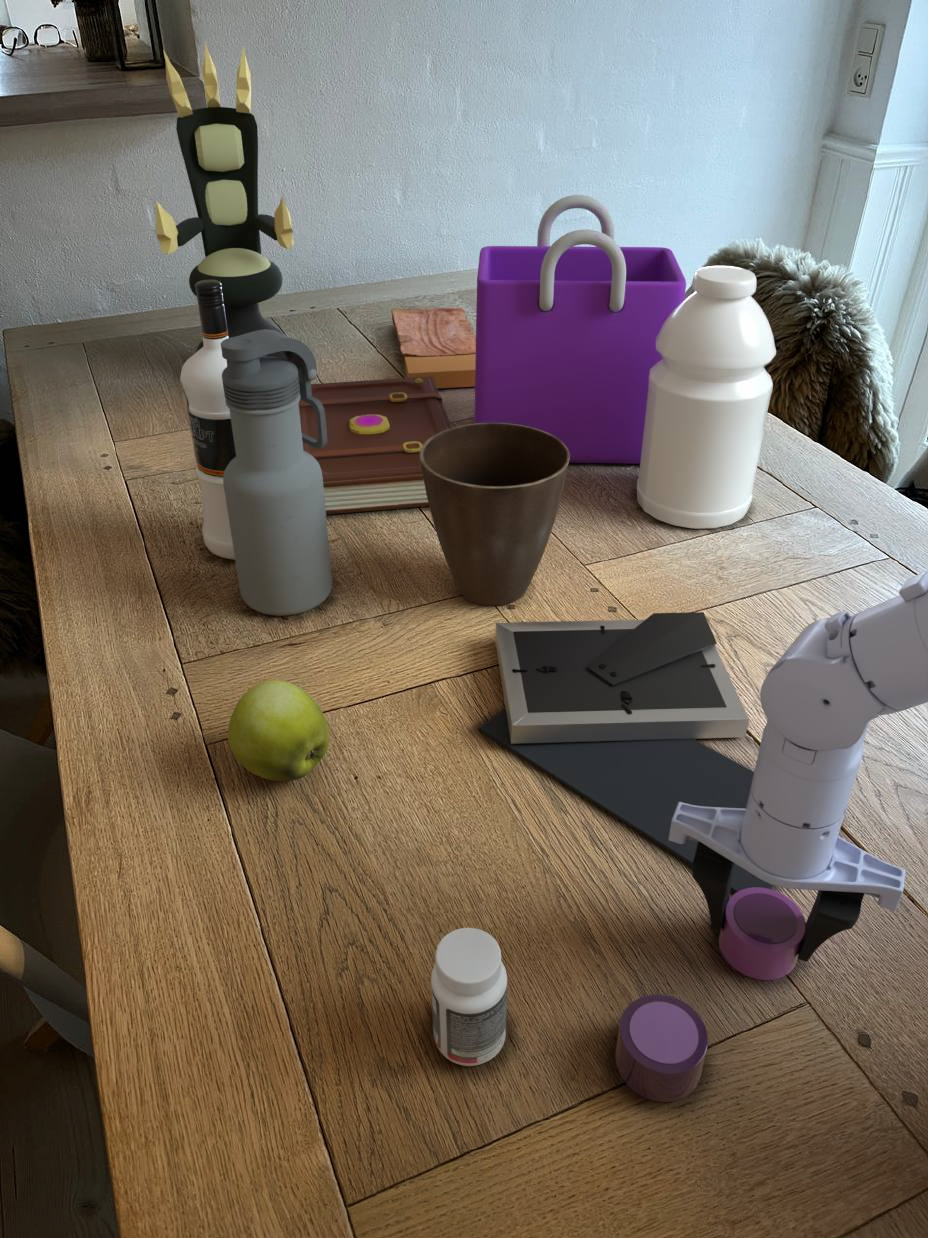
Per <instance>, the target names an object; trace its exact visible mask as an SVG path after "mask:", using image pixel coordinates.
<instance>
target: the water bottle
mask: <svg viewBox="0 0 928 1238" xmlns="http://www.w3.org/2000/svg"><path fill="white" fill-rule="evenodd" d="M282 333H283V332H282ZM282 333H279V332H277V331H274V330H268V329H264V330H258V331H253V332H250V333H246V334H243V335H239V336H236V337H231V338H228V339H225V340H223V341H222V342H221V350H222V356H223V358H224V359H226V360H227V367H226V368H225V369H224V370H223V372H222V381H223V388H224V395H225V399H226V400H225V402H226V406H227V407H228V408H229V410H230V417H231V424H232V431H233V438H234V445H235V451H236V457H235V458H234V459H233V460H231V462H230V463H229V464H228V466H227V467H226V469H225V471H224V475H223V485H224V491H225V498H226V504H227V511H228V517H229V523H230V530H231V536H232V542H233V549H234V555H235V560H234V561H235V562H234V563H235V569H236V574H237V580H238V587H239V593H240V596H241V598H242V600H243V602H244V603H245V604H246V605H247V606H248V607H249V608H250V609H252V610H254V611H256V612H258V613H261V614H263V615H270V616H279V617H280V616H281V617H282V616H293V615H299V614H302V613H305V612H308V611H311V610H313V609H314V608H316V607H319V606H320V605H321V604H323V602H325V601H326V600H327V599H328V597H329V595H330V593H331V592H332V588H333V575H332V565H331V553H330V543H329V533H328V522H327V521H328V519H327V514H326V509H325V499H324V488H323V477H322V471H321V468H320V465H319V463H318V462H317V460H316V459H315V458H314V457H313V456H312V455H310V454H309V453H307V452H306V451H303V442H305V443H307V444H309V445H311V446H313V447H315V448H317V449H320V448H322V447H325V446H326V445H327V429H326V418H325V410H324V407H323V405H322V403H321V402H320V401H319V400H318V399H317V398H315V397H312V390H311V384H312V381H314V380H316V378H317V377H318V368H317V362H316V358H315V356H314V354H313V352H312V350H311V349H310V348H309V346H308V345H307V344H305V343H304V342H302V341H301V340H298V339H296V338H294V337H292V336H289V335H287V334H285V333H284V334H285V335H284V334H282ZM280 351H283V352H284V354H285V356H286V360H285V359H282V358H279V357H273V356H264V355H267V354H271V353H275V352H280ZM300 400H302V401H304V402H307V403H309V404H310V405H311V406H312V407H313V408H314V410H315V412H316V416H317V424H318V440H316V439H314V438H312V437H310V436H308V435H306V434H304V433H302V432H301V423H300V413H299V404H298V403H299V401H300ZM302 441H303V442H302Z"/></svg>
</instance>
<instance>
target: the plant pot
mask: <svg viewBox="0 0 928 1238" xmlns="http://www.w3.org/2000/svg"><path fill="white" fill-rule="evenodd" d="M569 459H570V454H569V450H568V448H567V447H566V446H565V444H564V443H563V442H562V441H561V440H559V439H558V438H557V437H555V436H553V435H551V434H549V433H547V432H545V431H542V430H539V429H536V428H532V427H529V426H524V425H518V424H510V423H475V424H474V423H468V424H463V425H457V426H454V427H451V428H450V429H447V430H444V431H442V432H440V433H438V434H436V435H434V436H432V437H431V438H429V439H428V440H427V441H426V442H425V443H424V444H423V446H422V447H421V449H420V462H421V468H422V474H423V479H424V484H425V490H426V495H427V499H428V503H429V506H428V507H429V511H430V515H431V518H432V522H433V525H434V529H435V532H436V535H437V539H438V542H439V545H440V548H441V551H442V553H443V556H444V559H445V561H446V564H447V566H448V569H449V572H450V574H451V575H452V578H453V581H454V583H455V585H456V587H457V589H458V591H459V593H460V594H461V596H463V598H464V599H466V600H468V601H470V602H472V603H475V604H477V605H482V606H491V607H492V606H493V607H497V606H504V605H508V604H509V605H510V604H512V603H515V602H517V601H518V600H521V598H523V597H524V595H525V594H526V592H527V591H528V588H529V586H530V585H531V582H532V580H533V578H534V577H535V574H536V572H537V570H538V567H539V565H540V563H541V561H542V558H543V556H544V553H545V551H546V548H547V545H548V543H549V541H550V537H551V534H552V531H553V529H554V525H555V522H556V518H557V515H558V511H559V508H560V504H561V501H562V496H563V491H564V486H565V482H566V478H567V472H568V469H569V463H570V462H569Z"/></svg>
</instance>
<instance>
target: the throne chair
mask: <svg viewBox="0 0 928 1238" xmlns="http://www.w3.org/2000/svg"><path fill="white" fill-rule="evenodd" d="M162 51H163V55H164V60H165V77H166V78H165V80H166V82H167V87H168V89H169V92H170V96H171V98H172V102H173V104H174V107H175V109H176V112H177V114H178V117H177V118H176V126H175V129H176V135H177V139H178V143H179V148H180V151H181V154H182V159H183V162H184V167H185V170H186V173H187V177H188V181H189V186H190V189H191V193H192V198H193V202H194V205H195V209H196V214H197V216H196V217H188V218H186V219H184V220H181V222H179V223H178V224H176V223H175V220H174V217H173V216H172V215H171V214H170V213H169V212H168V211H167V210H166V209H165V208H163V207H162V205H161V204H160V203H159V202H158V201H157V200H155V221H156V223H155V224H156V225H155V226H156V238H157V241H158V243H159V245H160V248H161V252H162V255H163V256H169V255H171V254H173V253H174V252H177V250H178V248H180V247H182V246H185V245H186V244H187V243H188V242H190V241H192V239H194V238H195V237H196V236H198V235H199V234H200V233H201V234H200V235H201V240H202V246H203V251H204V258H203V259H202V260H201V261H200V262H199V263H198V264H197V265H195V267H194V268H193V269H192V270H191V271H190V274H189V278H188V284H189V288H190V291H191V292H192V293H193V296H195V297H196V298H197V294H196V288H195V284H196V283H197V282H199V281H202V280H217V281H219V282H221V284H222V286H221V287H222V293H223V300H224V303H223V304H224V308H225V315H226V322H227V329H228V337H229V338H231V337H236V336H239V335H243V334H246V333H250V332H253V331H258V330H264V329H268V330H274V331H277V332H279V333H282V334H284V335H286V334H285V333H284V332H282V331H281V330H280V329H279V328H277V327H276V326H275V325H273V324H271V323H270V322H269V321H268V320H267V319H265V318H264V316H263V315H262V313H261V311H260V306H259V304H260V303H263V302H265V301H268V300H270V299H271V298H273V297H274V296H276V295H277V294H278V293H279V292H280V290H281V288H282V286H283V274H282V271H281V269H280V268H279V266H278V265H277V264H276V263H275V262H274V261H271V260H270V259H268V258H266V257H265V256H264V255H263V254H262V243H261V233H263V234H264V235H266V236H267V237H269V238H270V239H272V240H273V241H277V243H278V244H279V246H280V247H282V248H284V249H286V250H291V249H293V247H294V231H293V228H292V219H291V213H290V210H289V209H288V207H287V204H286V202H285V199H284V196H283V195H282V196H281V198H280V201H279V204H278V206H277V207H276V209H275V211H274V212H273V215H274V216H272V215H269V214H265V213H263V214H262V213H260V214H259V134H258V132H259V131H258V123H257V120H256V118H255V115H254V114H253V113H251V112H252V111H251V108H252V107H251V106H252V79H251V77H252V76H251V75H252V74H251V71H250V68H249V63H248V60H247V57H246V51H245V45H243V47H242V51H241V59H240V61H239V65H238V68H237V71H236V88H235V91H236V94H235V104H236V105H235V107H228V106H227V107H226V106H221V97H220V89H219V82H218V74H217V68H216V66H215V64H214V62H213V59H212V57H211V54H210V51H209V48H208V44H207V41H206V40H205V41H204V57H203V64H202V78H203V85H204V86H203V87H204V94H205V95H204V96H205V100H206V101H205V102H206V107H202V108H198V109H193V108H192V106H191V103H190V100H189V97H188V94H187V91H186V88H185V86H184V84H183V81H182V78H181V75H180V74H179V73H178V71H177V70H176V69H175V67H174V65H173V64H172V63H171V61H170V58H169V57H168V55H167V53H166V51H165V49H163V50H162ZM260 232H261V233H260ZM203 346H204V344H203V339H202V340H201V342H200V343H199V344H198V346H197V347H196V350H195V352H194V354H195V353H196V352H197V351H199V350H200V349H201V348H202V347H203ZM264 356H273V357H279V358H282V359H285V360H286V356H285V354H284V352H283V351H280V352H275V353H271V354H267V355H264Z"/></svg>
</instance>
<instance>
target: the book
mask: <svg viewBox="0 0 928 1238" xmlns="http://www.w3.org/2000/svg"><path fill="white" fill-rule="evenodd" d="M311 390H312V397H315V398H317V399H318V400H319V401H320V402H321V403H322V405H323V407H324V410H325V418H326V429H327V445H326V446H325V447H322V448H320V449H317V448H315V447H313V446H311V445H309V444H307V443H305V442H303V441H302V442H303V451H306V452H307V453H309V454H310V455H312V456H313V457H314V458H315V459H316V460H317V462H318V463H319V465H320V468H321V471H322V477H323V488H324V499H325V509H326V515H336V514H337V515H338V514H349V513H360V512H361V513H362V512H371V511H384V510H395V509H409V508H419V507H421V508H422V507H429V503H428V499H427V495H426V490H425V484H424V479H423V474H422V468H421V462H420V449H421V447H422V446H423V444H424V443H425V442H426V441H427V440H428V439H429V438H431V437H432V436H434V435H436V434H438V433H440V432H442V431H444V430H447V429H450V428H452V425H451V422H450V420H449V416H448V415H447V412H446V409H445V407H444V403H443V402H444V401H443V400H444V399H443V396H442V395H441V394H440V393H439V391H438V388H436V385H435V382H434V380H433V377H432V376H428V377H413V378H406V377H400V378H383V379H367V380H353V381H351V380H350V381H338V382H336V381H335V382H322V383H311ZM298 404H299V413H300V423H301V432H302V433H304V434H306V435H308V436H310V437H312V438H314V439H316V440H318V424H317V416H316V412H315V410H314V408H313V407H312V406H311V405H310V404H309V403H307V402H304V401H302V400H300V401H299V403H298Z"/></svg>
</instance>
